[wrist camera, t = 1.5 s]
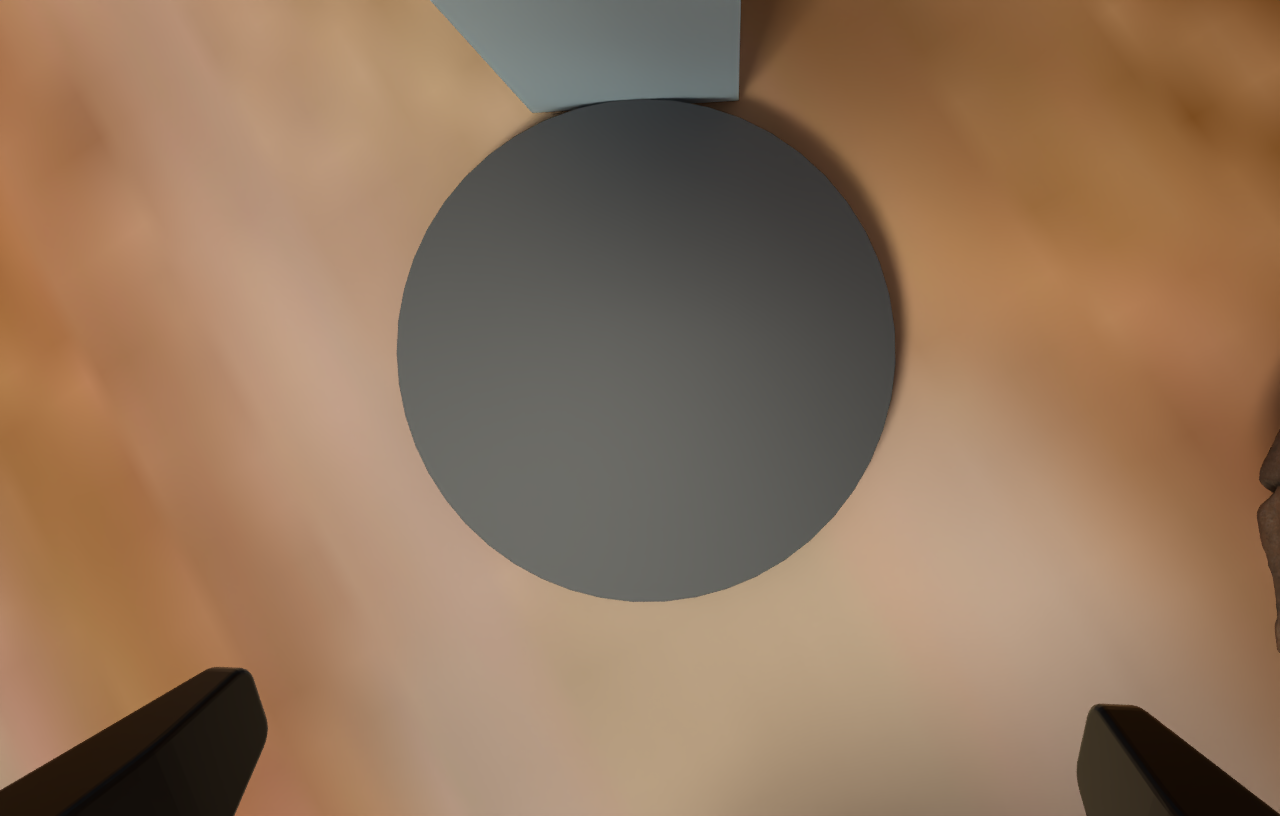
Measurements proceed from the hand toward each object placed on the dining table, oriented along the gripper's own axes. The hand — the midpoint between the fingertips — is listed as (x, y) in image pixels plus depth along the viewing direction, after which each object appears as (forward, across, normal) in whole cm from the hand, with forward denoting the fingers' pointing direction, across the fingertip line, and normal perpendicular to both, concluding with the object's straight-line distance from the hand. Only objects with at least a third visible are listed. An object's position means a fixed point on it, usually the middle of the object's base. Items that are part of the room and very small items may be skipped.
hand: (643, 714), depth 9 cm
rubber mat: (+12, +2, 0) cm, 12 cm away
